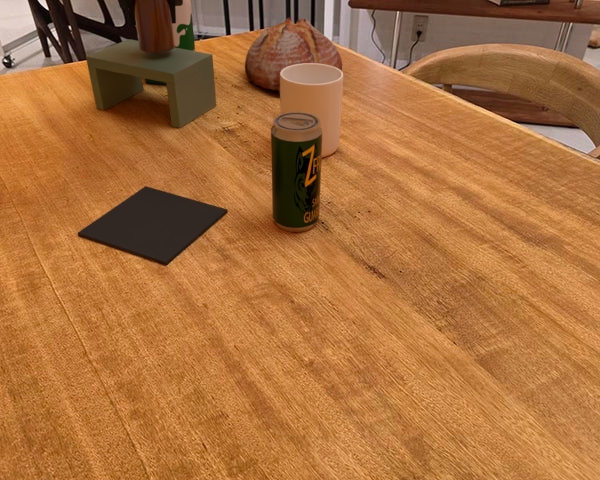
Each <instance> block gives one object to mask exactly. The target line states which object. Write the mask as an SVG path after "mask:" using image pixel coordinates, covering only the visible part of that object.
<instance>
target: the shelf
mask: <svg viewBox="0 0 600 480" xmlns="http://www.w3.org/2000/svg"><path fill="white" fill-rule="evenodd" d="M85 61H86V64H87V69H88V75H89V77H90V79H89V80H90V85H91V88H92V94H93V98H94V102H95V107H96V109H97V110H101V111H106V110H107V109H109V108H111V107H114V106H116V105H117V104H119V103H121V102H123V101H125V100H127V99H129V98H131V97H134V96H135V95H137V94H138V93H142V92H143V91H145V89H144V83H143V82H144V81H143V79H145V78H146V79H151V80H156V81H160V82H165V83H166V91H167V100H168V107H169V115H170V122H171V127H173V128H176V129H177V128H178V129H181V128H182V127H184V126H186V125H188V124H189V123H191V122H192V121H194V120H196V119H197V118H198V117H201V116H202V115H205V113H207V112H208V111H210V110H212V109H214V108H216V106H217V95H216V82H215V72H214V71H215V70H214V69H215V68H214V57H213V54H212V53H207V52H201V51H196V50H195V51H191V50H186V49H180V48H175V47H174V49H172V50H170V51H167V52H161V53H150V52H144V51H142V50H140V48H139V41H138V40H136V39H130V38H128V39H125V40H123V41H121V42H118V43H116V44H113V45H111V46H109V47H106V48H103V49H101V50H98V51H95V52H93V53H91V54H88V55H85Z"/></svg>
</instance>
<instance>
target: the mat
mask: <svg viewBox="0 0 600 480" xmlns="http://www.w3.org/2000/svg"><path fill="white" fill-rule="evenodd" d="M228 213H229V211H228V209H227V208H224V207H221V206H217V205H214V204H210V203H206V202H204V201H200V200H196V199H193V198H189V197H186V196H182V195H178V194H174V193H171V192H168V191H165V190H160V189H157V188H154V187H151V186H147V185H146V186H144V187H142V188H141V189H139V190H138V191H136V192H135V193H134V194H132V195H130V196H129V197H127V198H126V199H125V200H123V201H122V202H120V203H119V204H117V205H116V206H114V207H113V208H111V209H110V210H109V211H107V212H105V213H104V214H103V215H101V216H100V217H98V218H96V219H95V220H94V221H92V222H91V223H90V224H88V225H86V226H85V227H84V228H82V229H81V230H79V231H78V232H77V236H79V237H81V238H84V239H87V240H90V241H93V242H96V243H99V244H101V245H105V246H108V247H111V248H113V249H117V250H120V251H123V252H126V253H129V254H132V255H135V256H137V257H141V258H144V259H147V260H149V261H152V262H154V263H155V262H156V263H159V264H162V265H164V266H168V265H169V264H170V263H171V262H172V261H173V260H174V259H176V258H177V257H178V256H179V255H180V254H182V252H184V250H186V249H187V248H188V247H190V245H192V244H193V243H194V242H195V241H196V240H197V239H199V237H201V236H202V235H203V234H204V233H205V232H206V231H208V230H209V229H210V228H211V227H212V226H214V225H215V224H216V223H217V222H218V221H219V220H220V219H222V218H223V217H224V216H225V215H226V214H228Z"/></svg>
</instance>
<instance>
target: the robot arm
mask: <svg viewBox="0 0 600 480" xmlns="http://www.w3.org/2000/svg"><path fill="white" fill-rule="evenodd" d="M182 4H183V0H170V9H171V18H172V24H173V23H176V7H175V6H182ZM118 6H119V8H120V9H125V10H126V9H127V10H128V16H129V22H130V26H136V21H135V15H134V7H133V1H132V0H118Z"/></svg>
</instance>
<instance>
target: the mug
mask: <svg viewBox="0 0 600 480" xmlns="http://www.w3.org/2000/svg"><path fill="white" fill-rule="evenodd" d="M343 89H344V72H343V70H342V71H341V70H340V69H338V68H336V67H333V66H330V65H325V64H317V63H303V64H295V65H291V66H288V67H286V68H284V69H282V71H281V72H280V93H279V111H280V112H279V113H280V114H283V113H289V112H304V113H309V114H312V115H315V116H317V117H318V118H319V119H320V122H321V123H320V126H321V128H322V156H321V159H322V158H327V157H329V156H331V155H333V154H334V153H335V152H336V151H337V150H338V148H339V145H340V139H341V124H342V123H341V122H342V106H343ZM280 114H279V115H280Z"/></svg>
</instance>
